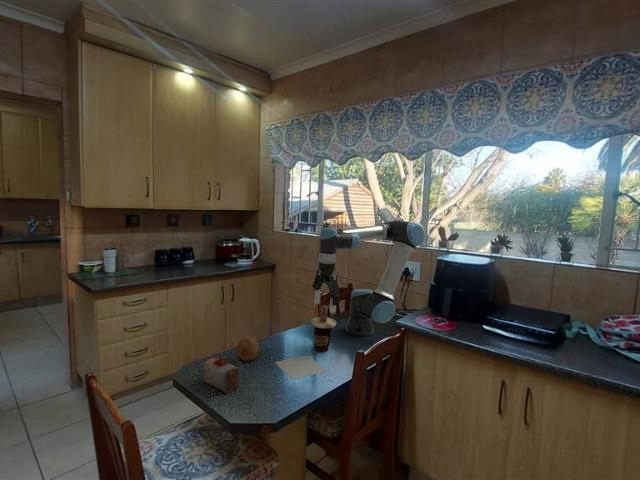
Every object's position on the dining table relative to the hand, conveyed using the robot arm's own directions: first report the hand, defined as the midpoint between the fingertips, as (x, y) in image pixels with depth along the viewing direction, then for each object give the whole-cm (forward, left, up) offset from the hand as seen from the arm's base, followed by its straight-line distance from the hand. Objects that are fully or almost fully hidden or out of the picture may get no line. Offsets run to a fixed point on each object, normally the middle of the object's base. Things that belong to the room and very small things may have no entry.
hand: (324, 307), depth 159 cm
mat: (+17, +11, -20) cm, 29 cm away
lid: (0, 0, -7) cm, 8 cm away
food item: (+50, +10, -21) cm, 55 cm away
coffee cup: (0, 0, -21) cm, 21 cm away
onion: (+34, -5, -21) cm, 40 cm away
